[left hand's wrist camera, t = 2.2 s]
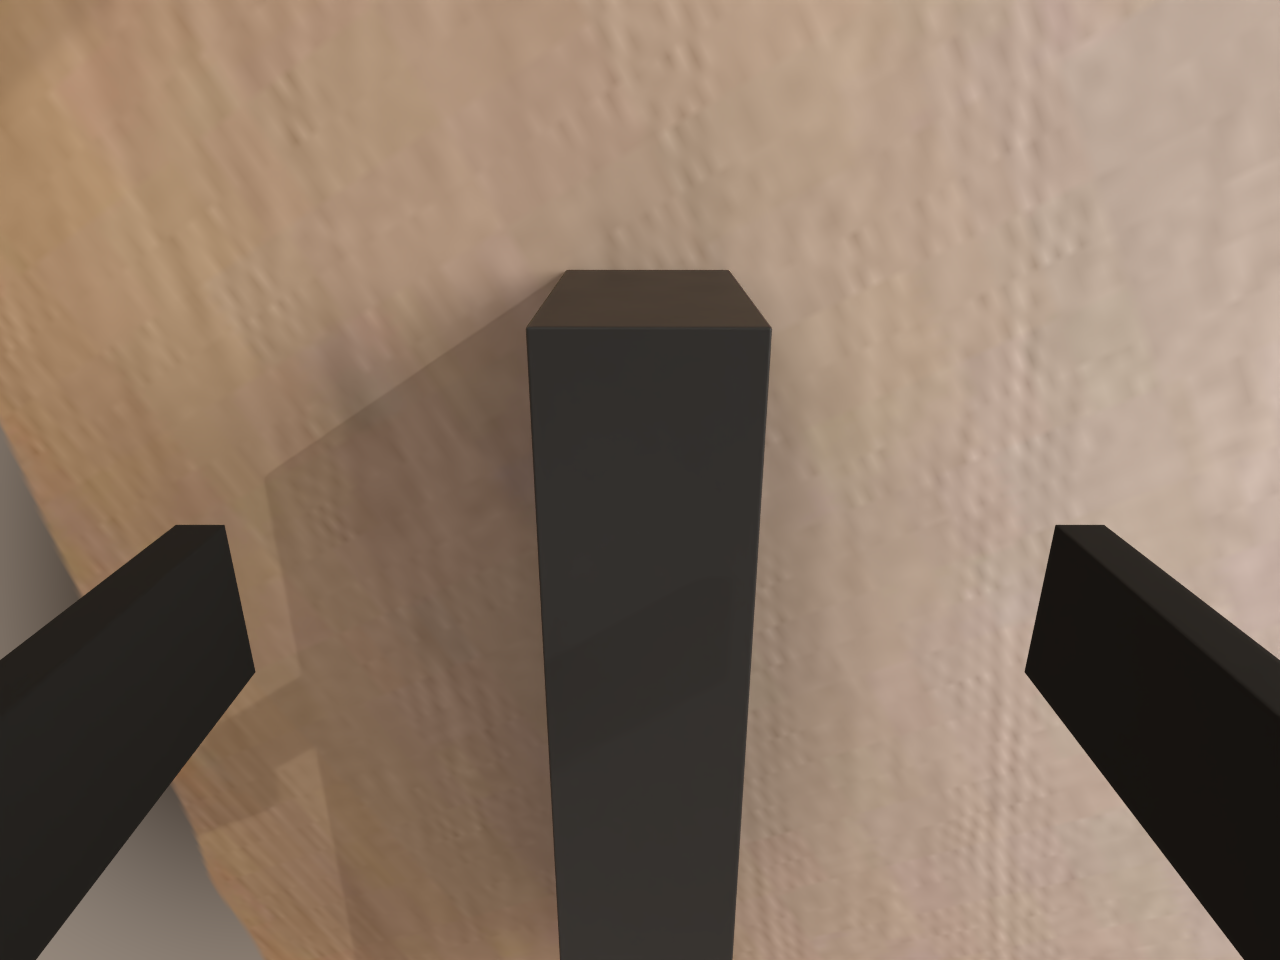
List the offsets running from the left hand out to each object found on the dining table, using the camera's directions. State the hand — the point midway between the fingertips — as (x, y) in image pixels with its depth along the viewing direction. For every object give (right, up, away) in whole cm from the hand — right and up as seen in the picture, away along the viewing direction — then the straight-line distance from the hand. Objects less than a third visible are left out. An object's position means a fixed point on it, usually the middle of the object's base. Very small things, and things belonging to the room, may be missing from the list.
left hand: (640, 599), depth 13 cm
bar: (0, -4, +15) cm, 16 cm away
